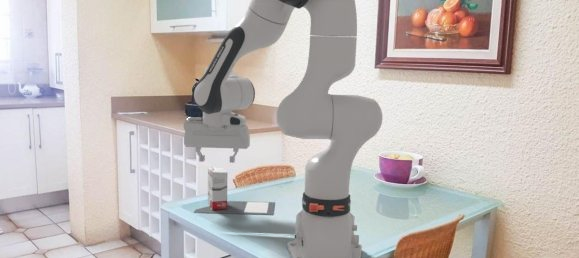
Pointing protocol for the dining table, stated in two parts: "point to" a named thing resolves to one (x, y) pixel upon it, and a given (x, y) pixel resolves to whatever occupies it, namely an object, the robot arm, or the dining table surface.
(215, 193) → the ink box
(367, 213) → the dining table surface
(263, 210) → the mat
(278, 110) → the robot arm
